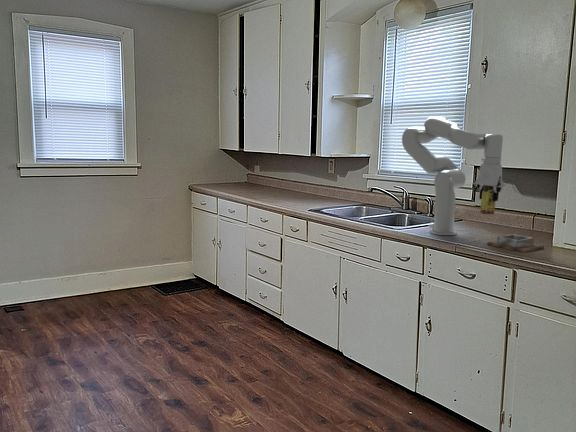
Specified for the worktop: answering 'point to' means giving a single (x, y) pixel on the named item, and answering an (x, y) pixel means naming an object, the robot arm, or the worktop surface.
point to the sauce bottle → (487, 200)
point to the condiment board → (516, 243)
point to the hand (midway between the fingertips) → (488, 199)
